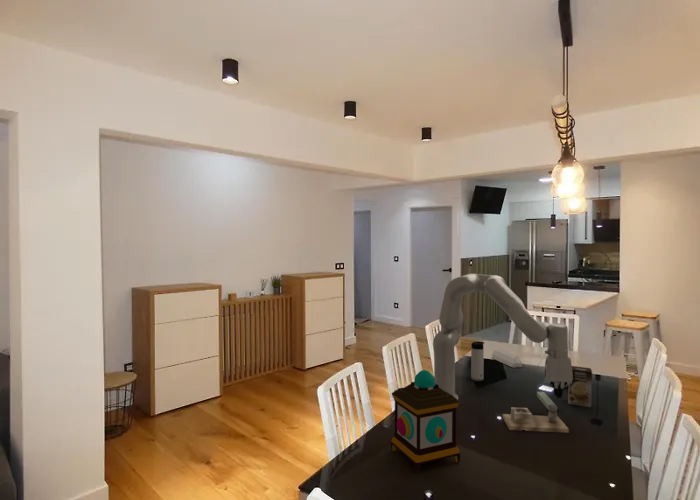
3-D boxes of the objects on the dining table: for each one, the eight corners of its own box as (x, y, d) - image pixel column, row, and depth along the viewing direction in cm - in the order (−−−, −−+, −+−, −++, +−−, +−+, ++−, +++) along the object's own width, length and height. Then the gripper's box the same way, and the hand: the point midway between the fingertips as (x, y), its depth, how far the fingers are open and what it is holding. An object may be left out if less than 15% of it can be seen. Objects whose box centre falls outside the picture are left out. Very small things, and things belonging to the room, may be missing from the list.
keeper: (549, 411, 176) (549, 407, 176) (536, 395, 193) (536, 391, 193) (558, 412, 175) (558, 407, 175) (544, 396, 193) (544, 392, 193)
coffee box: (568, 404, 200) (568, 369, 199) (568, 399, 205) (568, 365, 205) (591, 407, 196) (592, 371, 195) (590, 402, 202) (591, 367, 201)
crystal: (527, 361, 256) (503, 350, 279) (518, 355, 254) (494, 345, 277) (521, 372, 255) (498, 361, 278) (512, 367, 253) (489, 356, 277)
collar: (515, 423, 176) (515, 413, 176) (511, 416, 182) (511, 407, 182) (531, 424, 175) (531, 414, 175) (527, 417, 181) (527, 407, 181)
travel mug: (484, 381, 231) (484, 343, 231) (471, 380, 233) (471, 342, 232) (483, 377, 237) (483, 340, 237) (470, 377, 239) (470, 340, 238)
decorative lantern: (414, 477, 139) (415, 382, 139) (385, 449, 158) (385, 365, 157) (466, 464, 147) (467, 374, 147) (432, 439, 166) (432, 359, 165)
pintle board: (509, 429, 173) (509, 415, 173) (502, 417, 185) (502, 403, 185) (568, 432, 171) (568, 417, 171) (557, 419, 183) (558, 406, 182)
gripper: (542, 355, 183) (542, 399, 183) (580, 356, 181) (580, 400, 181) (536, 351, 190) (537, 393, 191) (573, 351, 189) (573, 394, 189)
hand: (558, 396), depth 186 cm, fingers closed
